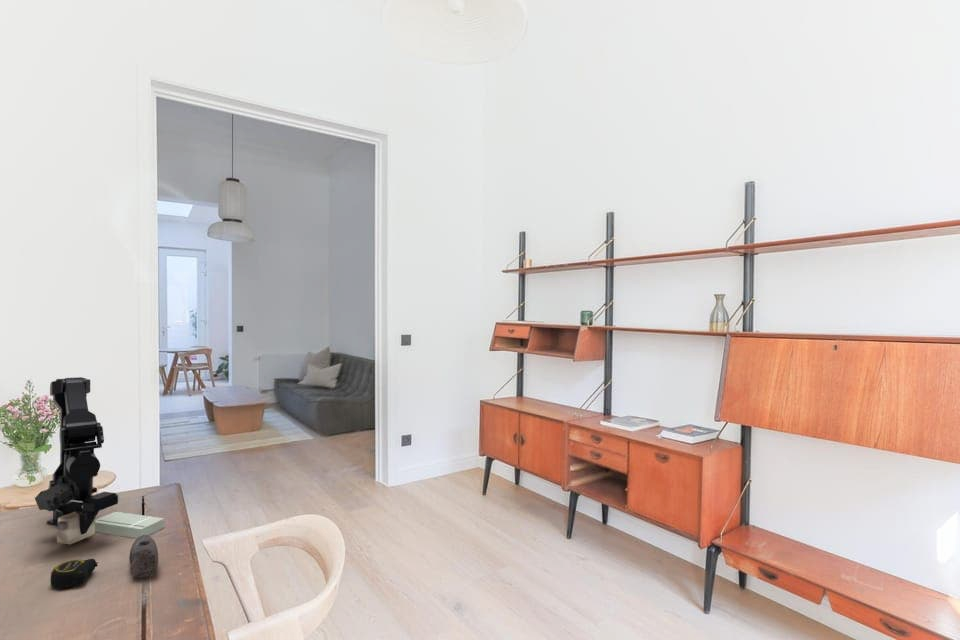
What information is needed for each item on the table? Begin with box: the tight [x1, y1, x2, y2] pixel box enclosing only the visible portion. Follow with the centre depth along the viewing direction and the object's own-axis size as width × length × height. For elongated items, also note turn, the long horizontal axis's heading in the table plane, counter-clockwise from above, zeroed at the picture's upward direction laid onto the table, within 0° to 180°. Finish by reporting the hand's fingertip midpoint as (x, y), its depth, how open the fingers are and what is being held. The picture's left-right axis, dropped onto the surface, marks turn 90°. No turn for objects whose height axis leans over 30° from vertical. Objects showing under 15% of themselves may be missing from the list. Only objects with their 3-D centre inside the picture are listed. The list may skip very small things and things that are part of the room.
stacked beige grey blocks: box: [56, 512, 96, 545], centre depth 120 cm, size 4×8×6 cm, turn 168°
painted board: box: [95, 511, 165, 539], centre depth 129 cm, size 16×7×3 cm, turn 78°
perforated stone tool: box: [128, 535, 159, 579], centre depth 110 cm, size 15×5×7 cm, turn 36°
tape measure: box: [49, 558, 99, 589], centre depth 103 cm, size 7×7×4 cm
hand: (76, 532), depth 120 cm, fingers closed on stacked beige grey blocks, 4 cm apart
